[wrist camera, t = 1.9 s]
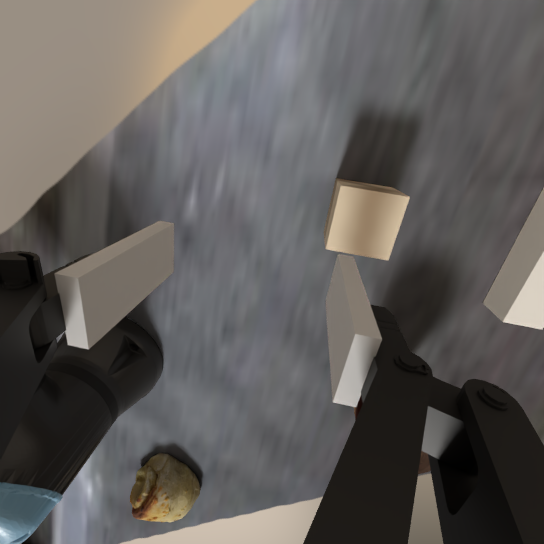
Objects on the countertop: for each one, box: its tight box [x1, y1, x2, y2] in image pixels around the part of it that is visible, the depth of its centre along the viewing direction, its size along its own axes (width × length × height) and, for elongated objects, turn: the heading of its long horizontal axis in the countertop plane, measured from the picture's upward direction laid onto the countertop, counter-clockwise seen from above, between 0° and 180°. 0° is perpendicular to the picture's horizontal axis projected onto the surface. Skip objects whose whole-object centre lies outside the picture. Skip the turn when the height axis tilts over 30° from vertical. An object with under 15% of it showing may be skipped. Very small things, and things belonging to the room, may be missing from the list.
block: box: [324, 178, 410, 260], centre depth 29 cm, size 6×6×6 cm
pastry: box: [130, 453, 201, 522], centre depth 53 cm, size 14×12×8 cm
